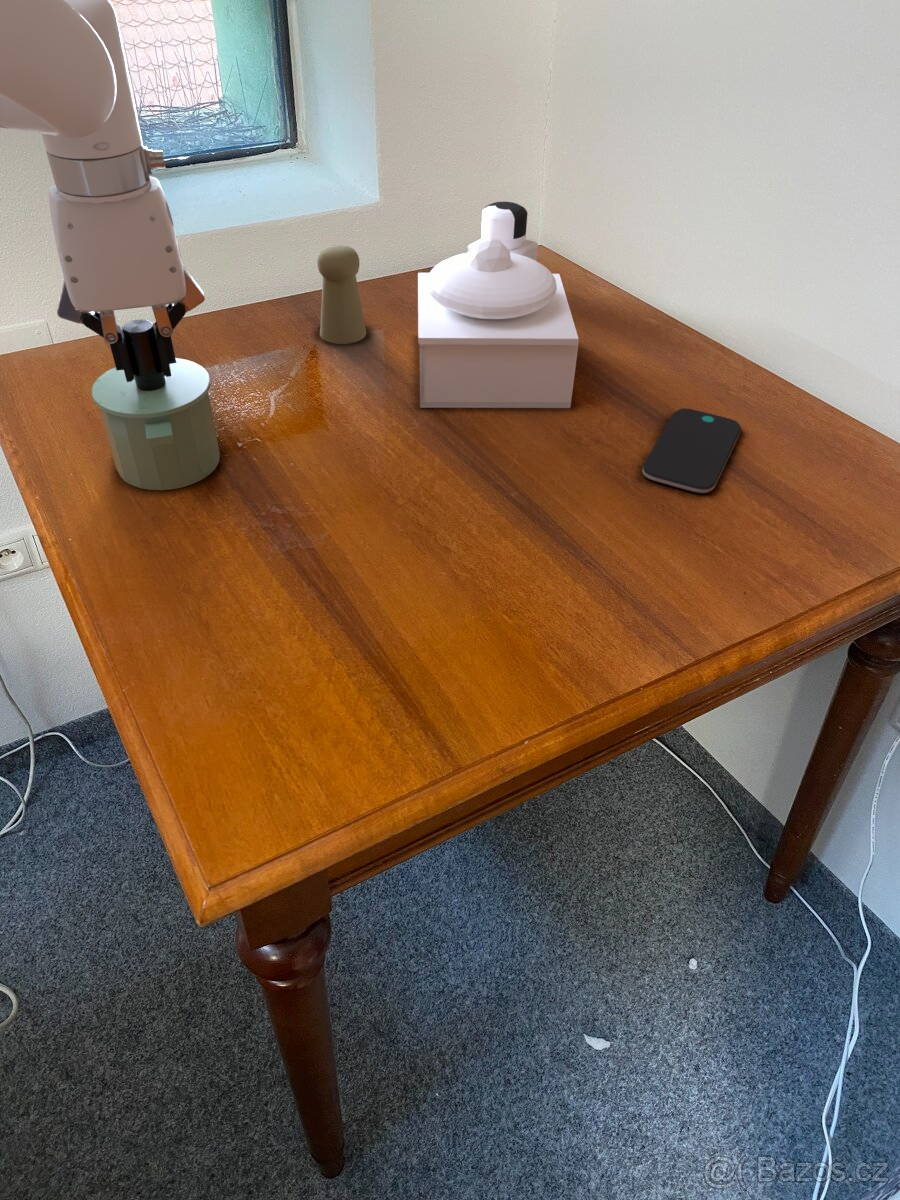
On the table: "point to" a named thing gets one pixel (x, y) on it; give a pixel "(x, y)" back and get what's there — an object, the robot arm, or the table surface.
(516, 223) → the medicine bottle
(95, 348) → the table surface
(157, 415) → the pot lid
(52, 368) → the table surface
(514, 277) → the white box
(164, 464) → the pot
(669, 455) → the smartphone
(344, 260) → the olive pawn
